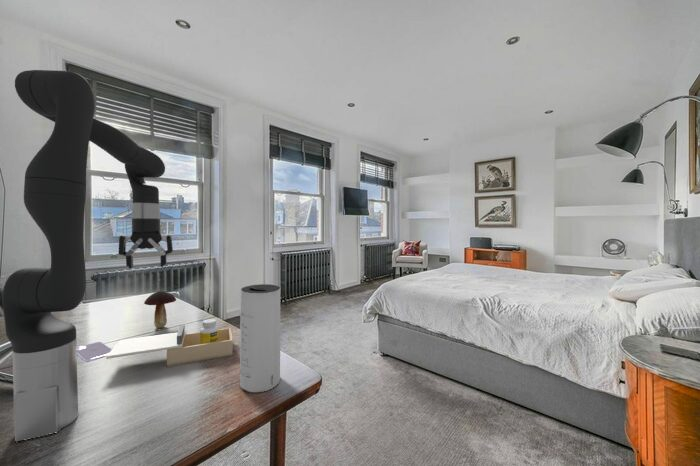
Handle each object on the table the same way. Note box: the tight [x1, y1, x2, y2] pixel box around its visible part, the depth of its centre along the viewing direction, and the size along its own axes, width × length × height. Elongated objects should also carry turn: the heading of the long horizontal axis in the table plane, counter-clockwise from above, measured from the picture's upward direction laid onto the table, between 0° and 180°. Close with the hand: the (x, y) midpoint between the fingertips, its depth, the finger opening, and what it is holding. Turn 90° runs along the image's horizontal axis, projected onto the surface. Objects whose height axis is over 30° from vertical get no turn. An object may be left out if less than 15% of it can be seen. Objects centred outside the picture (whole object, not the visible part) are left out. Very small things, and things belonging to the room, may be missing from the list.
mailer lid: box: [105, 324, 187, 360], centre depth 88 cm, size 12×18×3 cm, turn 115°
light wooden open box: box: [166, 327, 234, 368], centre depth 94 cm, size 12×18×5 cm, turn 115°
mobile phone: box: [77, 341, 113, 363], centre depth 95 cm, size 8×1×15 cm
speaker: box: [239, 283, 282, 394], centre depth 77 cm, size 11×10×26 cm
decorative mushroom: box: [143, 290, 177, 329], centre depth 116 cm, size 11×11×15 cm
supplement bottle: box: [199, 318, 219, 344], centre depth 95 cm, size 5×5×10 cm
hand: (147, 267), depth 94 cm, fingers open, 8 cm apart
